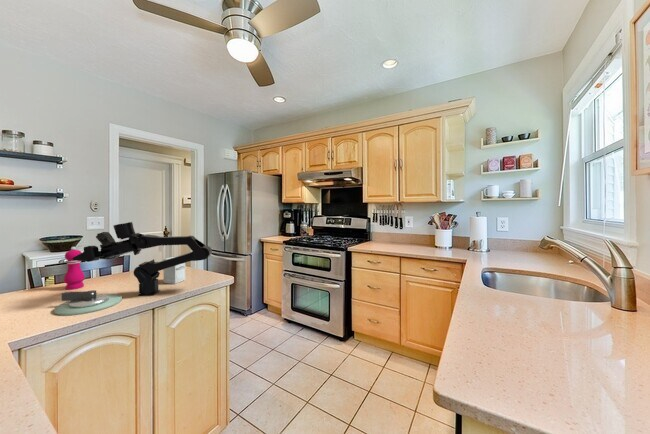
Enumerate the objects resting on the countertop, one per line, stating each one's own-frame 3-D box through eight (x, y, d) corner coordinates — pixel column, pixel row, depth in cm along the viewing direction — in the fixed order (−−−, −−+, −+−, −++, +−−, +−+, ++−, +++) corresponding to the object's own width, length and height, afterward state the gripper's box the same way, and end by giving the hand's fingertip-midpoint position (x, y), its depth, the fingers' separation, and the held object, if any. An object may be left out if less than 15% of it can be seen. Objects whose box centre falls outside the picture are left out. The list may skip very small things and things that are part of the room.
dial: (116, 296, 110) (116, 286, 110) (94, 307, 98) (94, 296, 98) (76, 297, 108) (76, 287, 108) (49, 308, 96) (48, 298, 96)
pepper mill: (74, 290, 121) (73, 248, 120) (59, 290, 121) (58, 247, 120) (89, 285, 128) (87, 245, 127) (74, 285, 128) (73, 245, 127)
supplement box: (175, 284, 131) (174, 259, 130) (163, 283, 133) (162, 258, 132) (186, 280, 138) (185, 256, 138) (174, 279, 140) (173, 256, 139)
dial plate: (132, 295, 115) (132, 292, 114) (98, 314, 95) (98, 310, 95) (83, 297, 112) (82, 294, 112) (37, 316, 92) (37, 313, 92)
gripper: (128, 230, 123) (91, 239, 120) (103, 229, 105) (58, 240, 102) (134, 253, 123) (97, 262, 120) (110, 255, 105) (65, 267, 101)
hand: (81, 258), depth 111 cm, fingers open, 9 cm apart
